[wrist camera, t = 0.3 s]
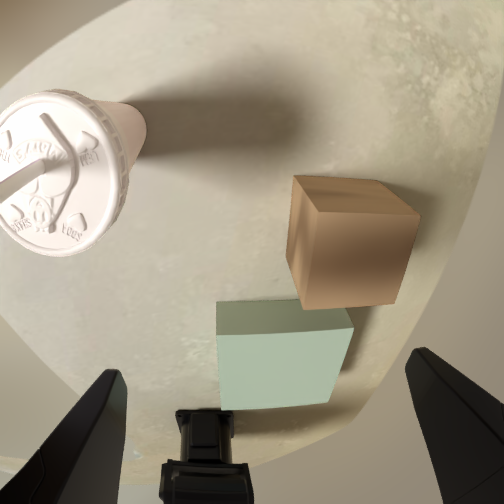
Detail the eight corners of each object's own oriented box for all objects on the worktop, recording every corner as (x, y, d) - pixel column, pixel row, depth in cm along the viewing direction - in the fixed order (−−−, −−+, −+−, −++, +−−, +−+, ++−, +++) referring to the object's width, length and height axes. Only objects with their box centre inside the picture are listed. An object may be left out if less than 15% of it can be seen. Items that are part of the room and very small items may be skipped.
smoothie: (176, 86, 17) (68, 104, 5) (161, 186, 20) (86, 357, 8) (78, 80, 15) (-104, 122, 3) (71, 176, 19) (-65, 311, 6)
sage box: (318, 371, 31) (328, 402, 27) (220, 376, 30) (221, 410, 27) (339, 294, 26) (354, 327, 22) (216, 299, 25) (216, 335, 22)
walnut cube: (361, 254, 24) (394, 303, 19) (285, 255, 23) (303, 309, 18) (376, 180, 21) (421, 215, 16) (293, 175, 20) (318, 212, 15)
